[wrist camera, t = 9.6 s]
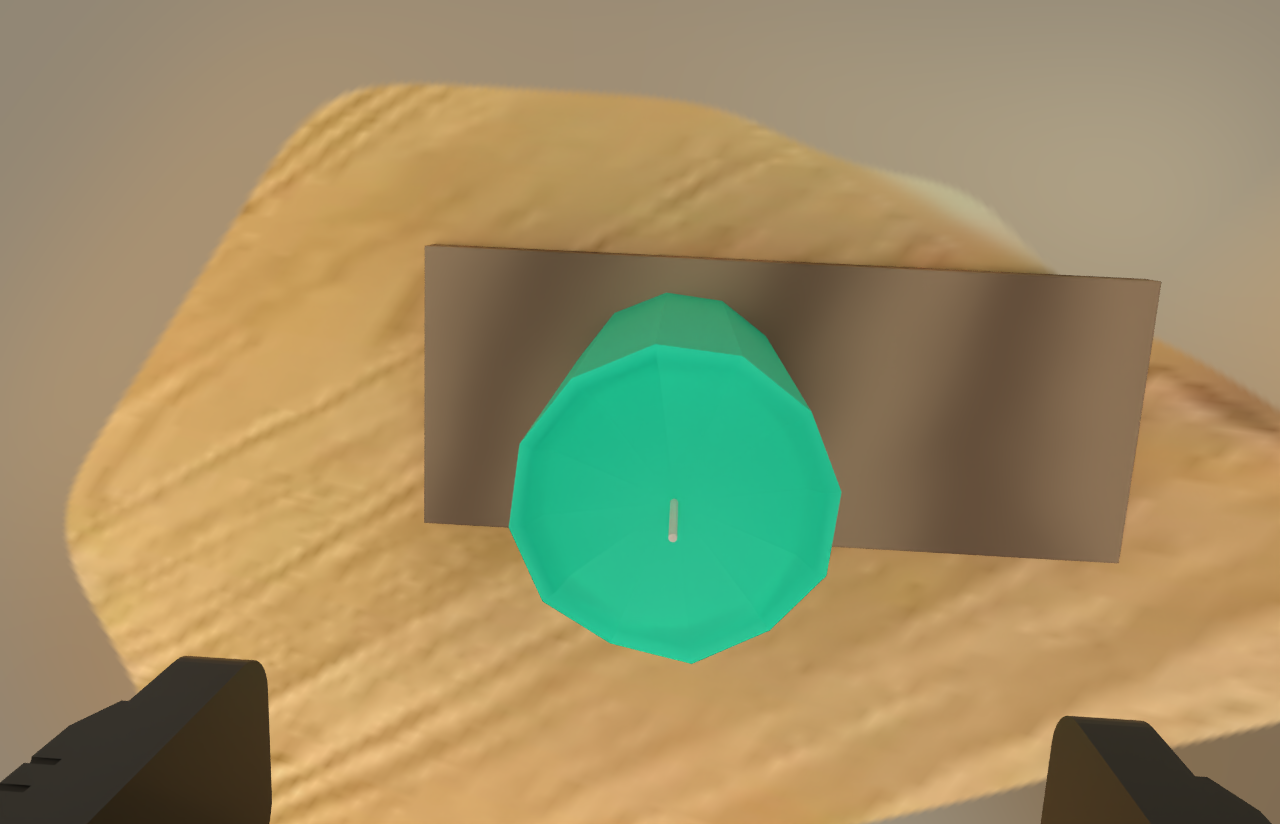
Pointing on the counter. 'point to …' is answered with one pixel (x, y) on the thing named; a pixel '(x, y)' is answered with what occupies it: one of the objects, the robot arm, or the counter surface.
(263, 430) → the counter surface
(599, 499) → the candle
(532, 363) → the board
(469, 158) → the counter surface
